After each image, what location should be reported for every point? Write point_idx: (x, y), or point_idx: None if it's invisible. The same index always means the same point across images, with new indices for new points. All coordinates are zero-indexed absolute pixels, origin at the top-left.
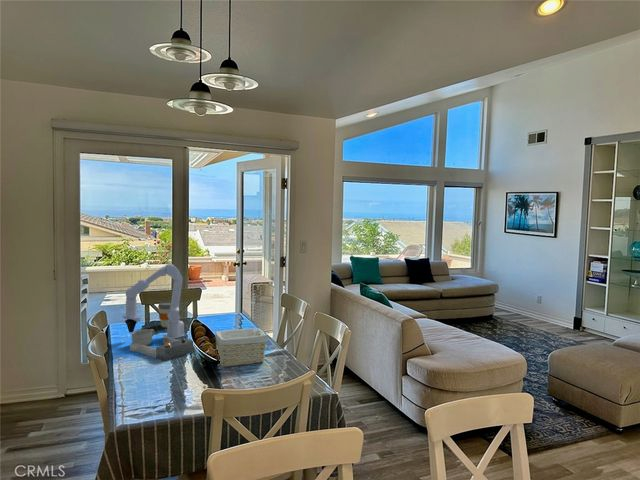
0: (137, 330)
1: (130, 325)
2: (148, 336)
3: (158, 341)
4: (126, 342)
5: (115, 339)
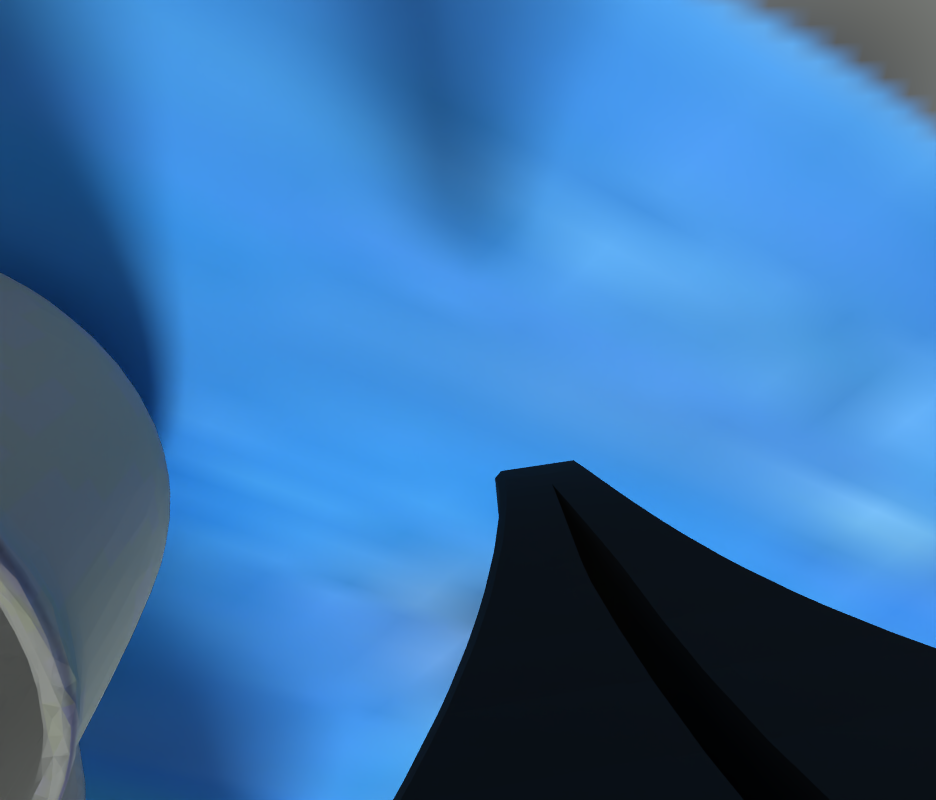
0: (34, 675)
1: (454, 702)
2: None
3: None
4: (447, 265)
5: (873, 185)
